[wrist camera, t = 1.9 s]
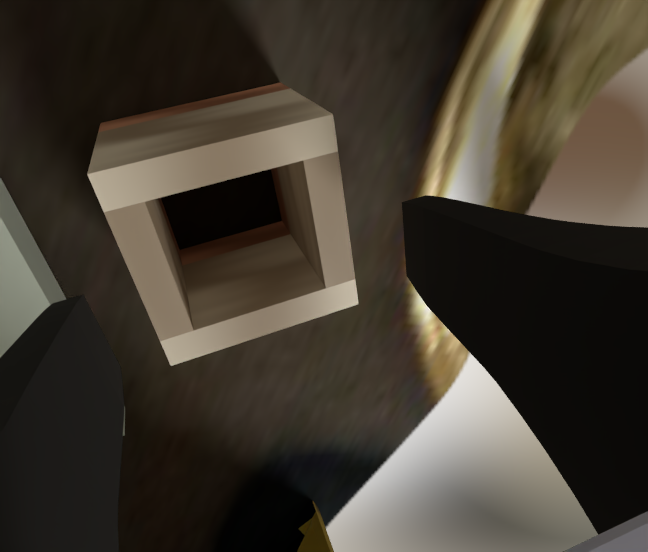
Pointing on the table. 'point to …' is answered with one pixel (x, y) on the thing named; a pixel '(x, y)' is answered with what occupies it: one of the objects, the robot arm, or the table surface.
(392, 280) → the table surface
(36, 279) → the pin board
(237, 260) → the birch sleeve
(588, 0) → the table surface
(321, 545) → the yellow recessed panel
